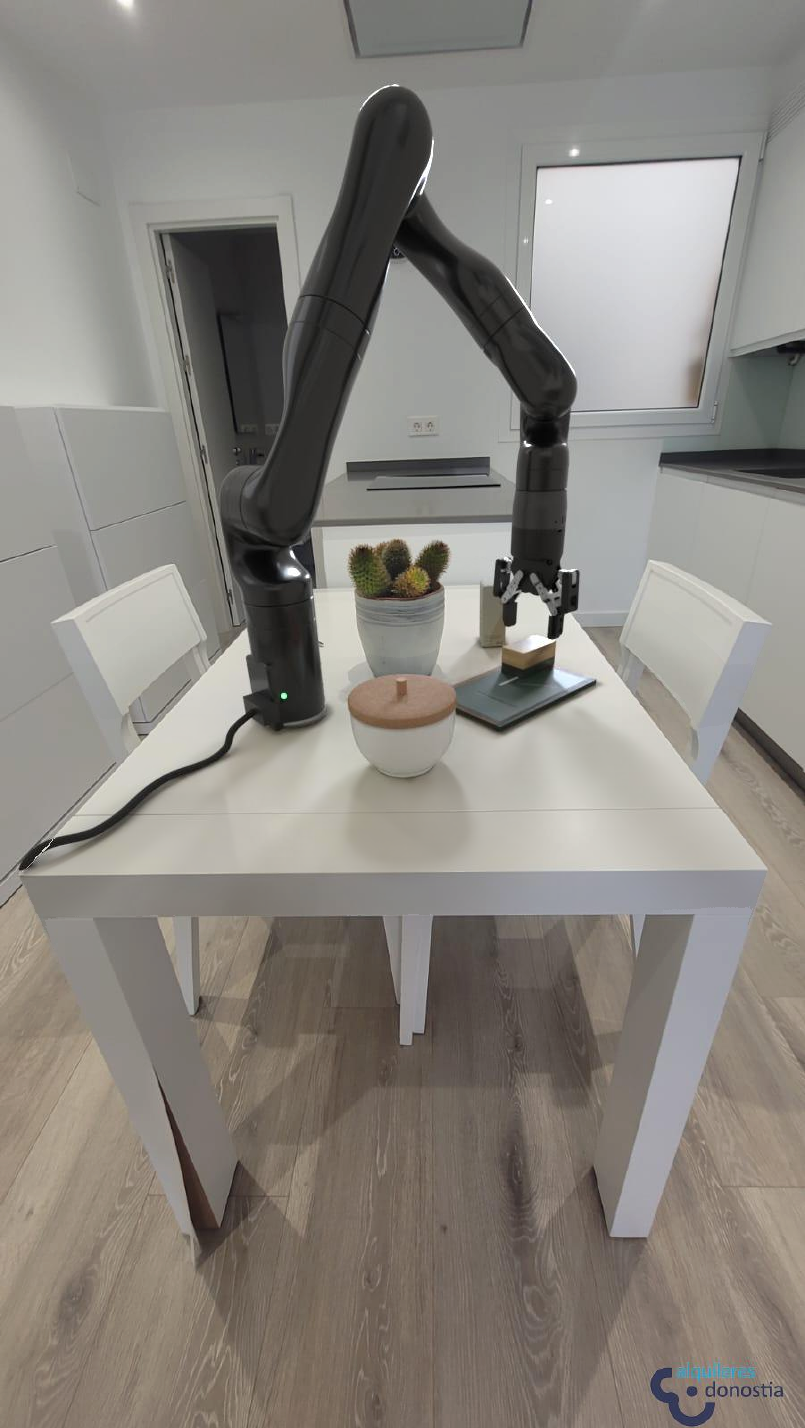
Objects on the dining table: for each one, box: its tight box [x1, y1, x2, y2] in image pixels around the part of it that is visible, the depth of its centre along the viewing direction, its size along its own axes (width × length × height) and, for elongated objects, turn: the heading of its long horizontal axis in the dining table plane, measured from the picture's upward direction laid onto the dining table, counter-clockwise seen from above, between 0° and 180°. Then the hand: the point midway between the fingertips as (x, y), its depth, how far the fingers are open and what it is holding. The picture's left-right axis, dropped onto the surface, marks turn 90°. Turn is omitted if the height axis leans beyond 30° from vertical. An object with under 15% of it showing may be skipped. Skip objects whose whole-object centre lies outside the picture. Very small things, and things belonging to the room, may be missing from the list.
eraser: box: [500, 634, 557, 679], centre depth 94 cm, size 8×4×4 cm, turn 131°
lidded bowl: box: [346, 673, 457, 779], centre depth 70 cm, size 13×13×11 cm
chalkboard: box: [451, 665, 598, 733], centre depth 89 cm, size 22×14×1 cm, turn 130°
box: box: [478, 579, 507, 647], centre depth 107 cm, size 5×4×11 cm
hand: (531, 631), depth 92 cm, fingers open, 8 cm apart
